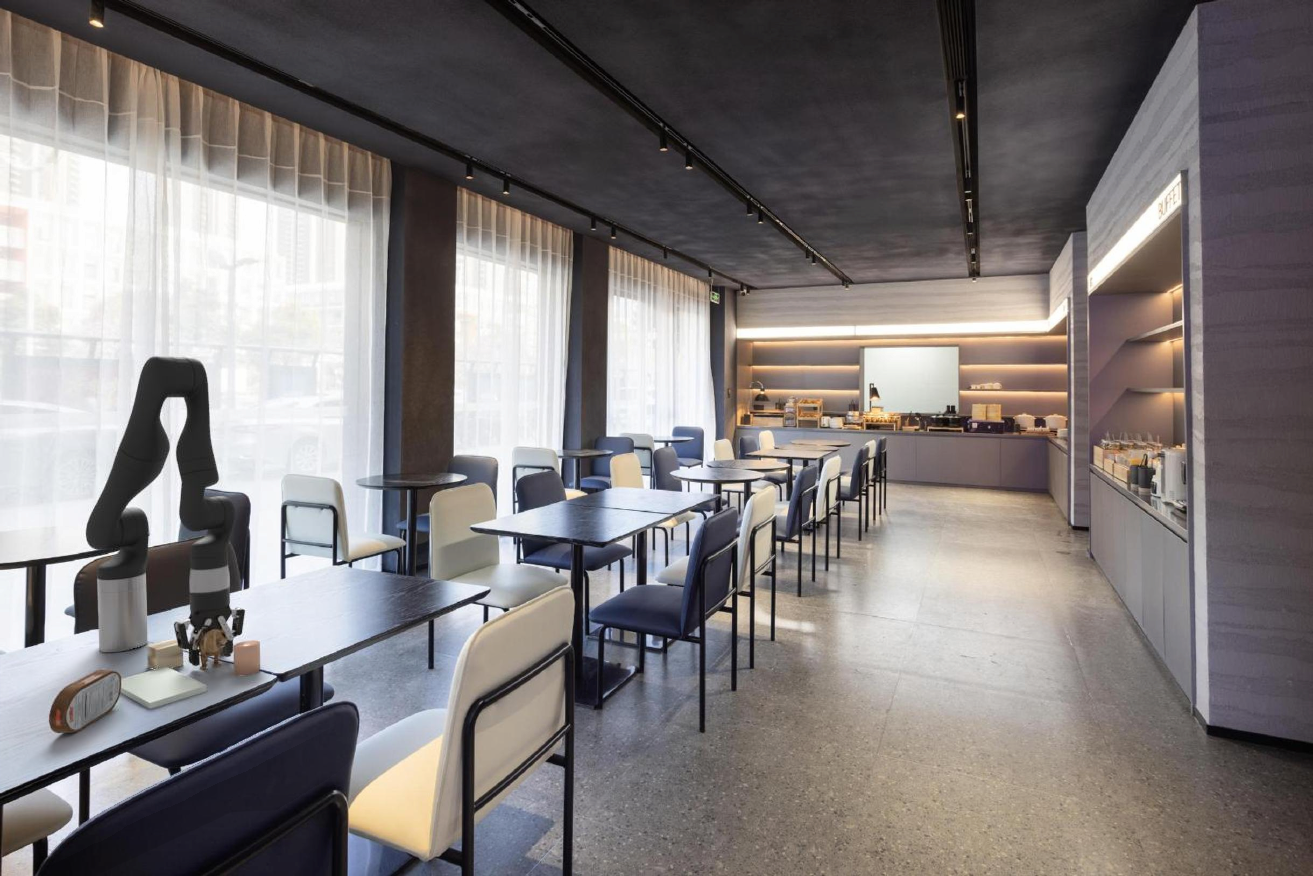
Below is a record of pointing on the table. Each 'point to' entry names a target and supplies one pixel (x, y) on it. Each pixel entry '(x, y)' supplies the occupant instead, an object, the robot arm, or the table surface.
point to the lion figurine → (211, 647)
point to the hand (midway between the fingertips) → (211, 660)
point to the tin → (85, 701)
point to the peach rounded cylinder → (246, 657)
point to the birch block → (164, 654)
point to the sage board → (160, 687)
